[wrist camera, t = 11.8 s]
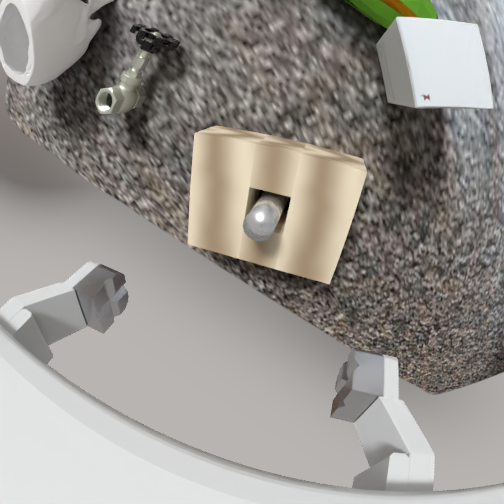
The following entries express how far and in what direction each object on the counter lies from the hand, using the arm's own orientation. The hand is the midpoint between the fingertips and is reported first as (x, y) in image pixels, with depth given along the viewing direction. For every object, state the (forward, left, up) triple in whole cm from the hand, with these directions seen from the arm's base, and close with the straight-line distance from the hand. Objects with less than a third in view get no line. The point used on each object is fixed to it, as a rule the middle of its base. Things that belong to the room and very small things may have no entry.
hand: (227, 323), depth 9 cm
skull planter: (+36, -18, -29) cm, 49 cm away
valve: (+23, -7, -29) cm, 37 cm away
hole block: (+3, +7, -28) cm, 29 cm away
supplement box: (-9, -13, -29) cm, 33 cm away
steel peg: (+3, +7, -28) cm, 29 cm away
